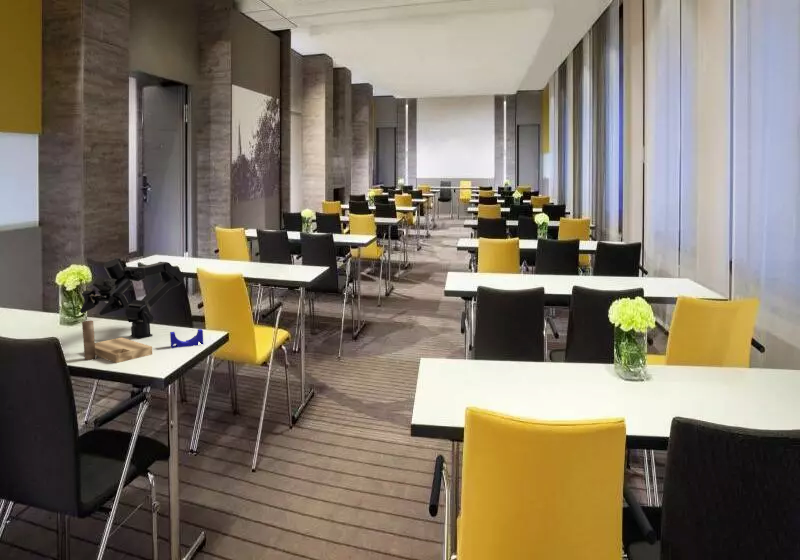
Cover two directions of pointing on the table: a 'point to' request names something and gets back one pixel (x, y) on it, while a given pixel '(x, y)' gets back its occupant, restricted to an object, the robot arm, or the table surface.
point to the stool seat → (121, 350)
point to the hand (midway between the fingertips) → (90, 313)
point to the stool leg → (88, 340)
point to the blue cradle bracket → (188, 342)
